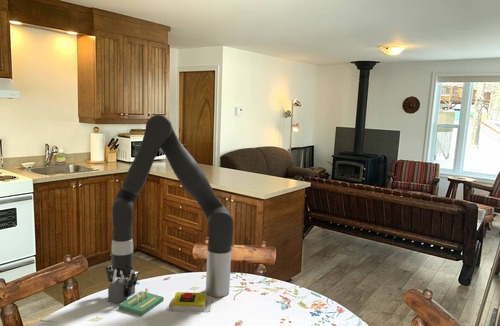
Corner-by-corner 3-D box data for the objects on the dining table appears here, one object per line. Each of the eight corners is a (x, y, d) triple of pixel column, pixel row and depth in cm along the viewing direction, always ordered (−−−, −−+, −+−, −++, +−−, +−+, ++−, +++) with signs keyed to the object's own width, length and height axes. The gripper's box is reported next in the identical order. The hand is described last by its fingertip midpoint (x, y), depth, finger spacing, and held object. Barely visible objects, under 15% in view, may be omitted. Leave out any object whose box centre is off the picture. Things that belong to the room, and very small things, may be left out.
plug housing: (126, 290, 144) (126, 275, 143) (134, 293, 142) (135, 278, 142) (108, 301, 135) (108, 285, 134) (116, 304, 134) (117, 288, 133)
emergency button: (171, 288, 139) (212, 289, 140) (171, 299, 140) (211, 300, 140) (167, 300, 130) (210, 301, 131) (167, 312, 131) (210, 313, 131)
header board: (141, 294, 141) (141, 282, 141) (163, 300, 138) (163, 287, 137) (119, 308, 130) (119, 295, 130) (142, 315, 127) (142, 301, 126)
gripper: (144, 251, 137) (144, 295, 139) (114, 244, 143) (114, 286, 145) (131, 257, 130) (130, 304, 132) (99, 250, 136) (99, 294, 138)
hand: (121, 294), depth 139 cm, fingers open, 4 cm apart
